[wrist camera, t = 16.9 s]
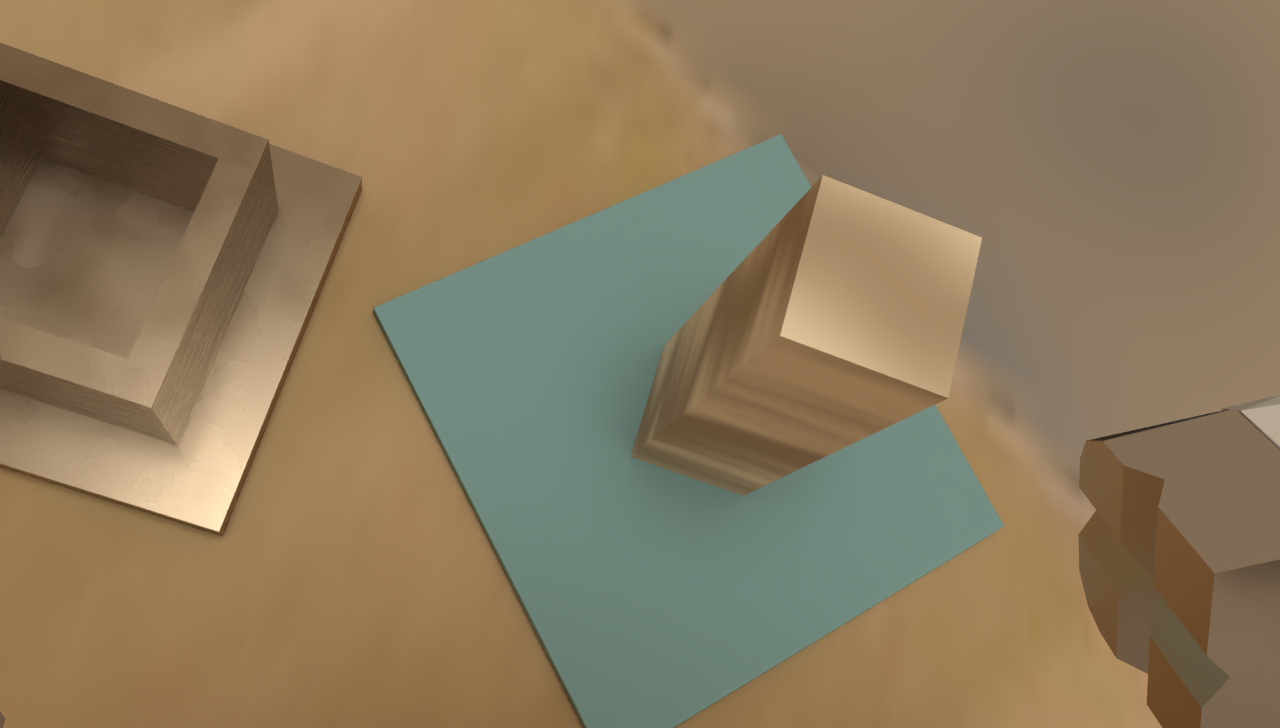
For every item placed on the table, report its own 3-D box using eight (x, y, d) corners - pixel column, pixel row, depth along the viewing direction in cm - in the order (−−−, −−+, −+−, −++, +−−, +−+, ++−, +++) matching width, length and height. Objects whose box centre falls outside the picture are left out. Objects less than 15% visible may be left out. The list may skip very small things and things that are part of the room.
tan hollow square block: (222, 535, 35) (198, 507, 29) (-195, 406, 33) (-306, 349, 27) (361, 189, 39) (364, 105, 33) (-6, 57, 37) (-69, -56, 31)
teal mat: (996, 527, 41) (1004, 526, 40) (604, 766, 36) (607, 767, 35) (776, 139, 43) (781, 134, 42) (373, 312, 38) (373, 307, 37)
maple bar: (743, 495, 38) (948, 398, 25) (630, 456, 38) (779, 335, 25) (772, 385, 40) (982, 237, 27) (663, 345, 39) (823, 175, 26)
